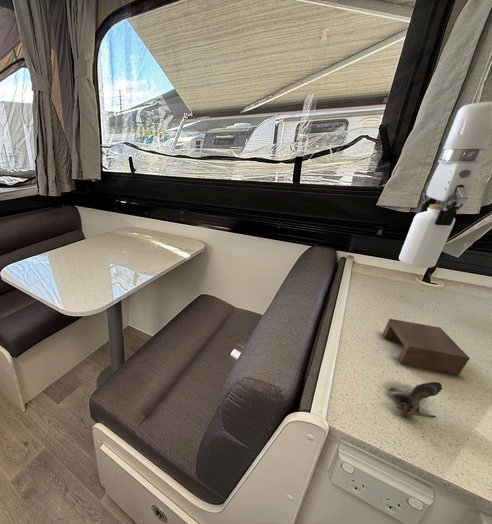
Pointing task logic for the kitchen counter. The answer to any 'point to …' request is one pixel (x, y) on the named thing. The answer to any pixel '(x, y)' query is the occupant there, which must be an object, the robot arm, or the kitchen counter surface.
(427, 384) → the eagle figurine
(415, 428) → the kitchen counter surface
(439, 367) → the shelf
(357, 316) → the kitchen counter surface
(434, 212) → the potion bottle
